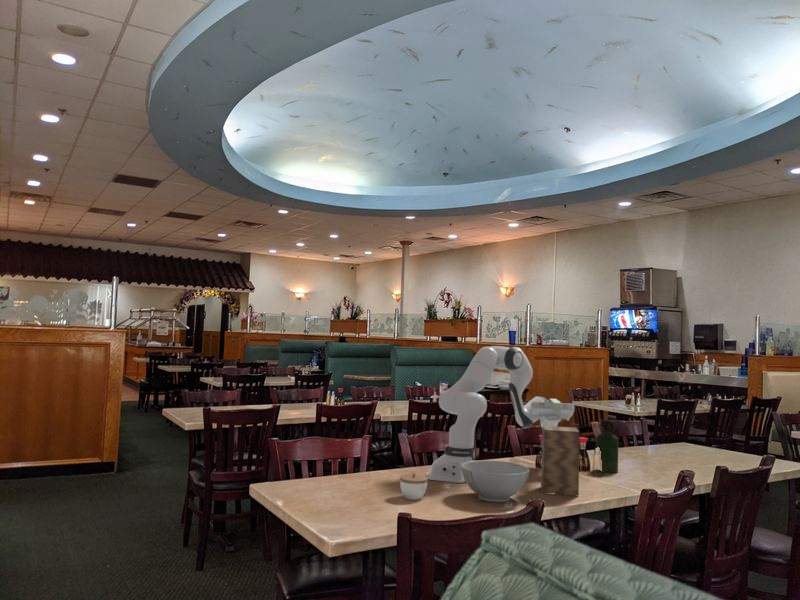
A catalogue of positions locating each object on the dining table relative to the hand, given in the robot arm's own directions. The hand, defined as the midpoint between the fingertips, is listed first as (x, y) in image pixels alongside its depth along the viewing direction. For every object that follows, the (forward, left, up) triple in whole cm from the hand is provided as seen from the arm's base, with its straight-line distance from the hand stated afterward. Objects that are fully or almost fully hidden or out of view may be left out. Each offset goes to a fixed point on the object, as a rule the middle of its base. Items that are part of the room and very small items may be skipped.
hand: (553, 401), depth 288 cm
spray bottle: (+28, +20, -35) cm, 49 cm away
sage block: (0, -7, -3) cm, 7 cm away
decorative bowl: (-27, -50, -35) cm, 67 cm away
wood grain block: (0, -31, -34) cm, 46 cm away
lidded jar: (-58, -59, -35) cm, 90 cm away
